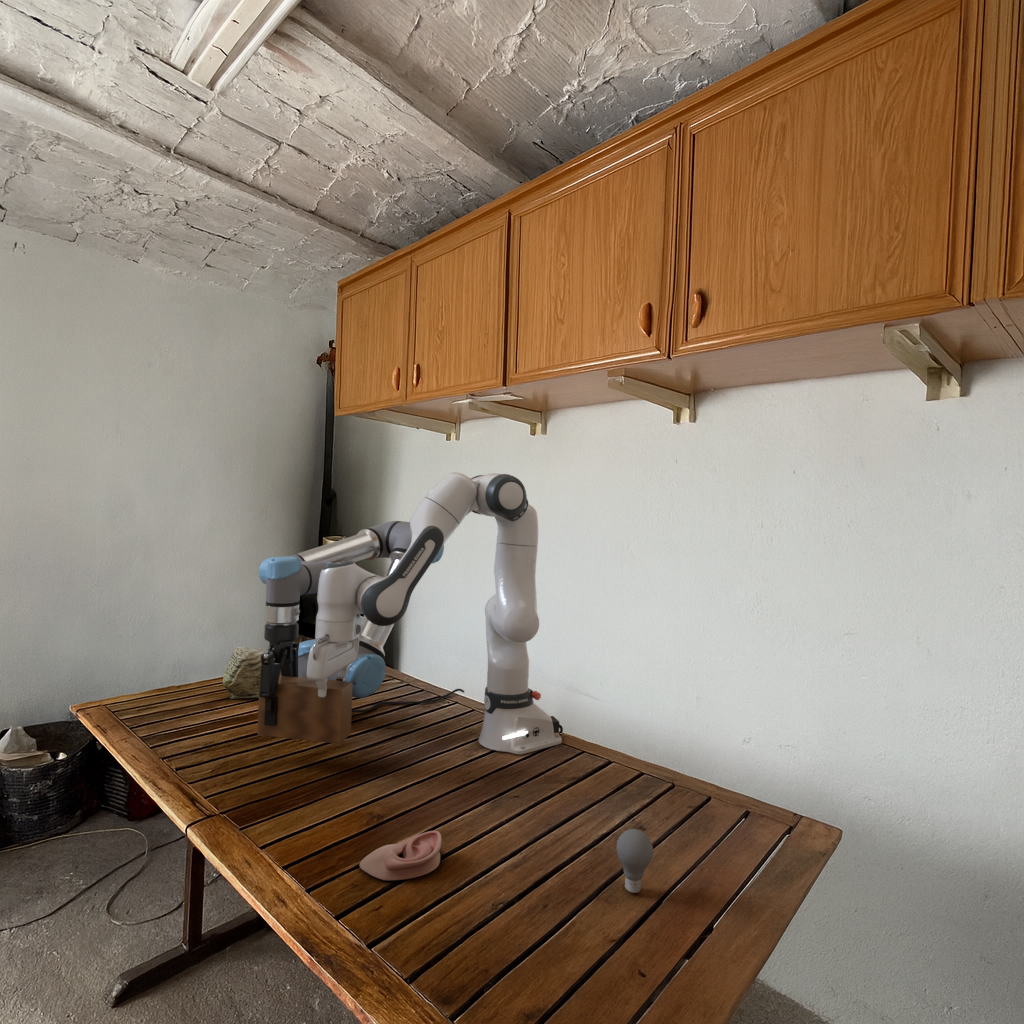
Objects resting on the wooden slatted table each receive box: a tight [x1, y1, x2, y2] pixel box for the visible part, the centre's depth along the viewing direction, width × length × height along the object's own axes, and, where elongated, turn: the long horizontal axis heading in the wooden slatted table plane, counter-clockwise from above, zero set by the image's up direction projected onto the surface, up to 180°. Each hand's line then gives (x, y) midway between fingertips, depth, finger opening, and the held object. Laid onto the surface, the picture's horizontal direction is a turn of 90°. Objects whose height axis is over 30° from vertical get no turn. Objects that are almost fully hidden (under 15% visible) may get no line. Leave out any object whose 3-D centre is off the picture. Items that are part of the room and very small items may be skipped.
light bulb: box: [615, 828, 654, 894], centre depth 106 cm, size 6×6×10 cm
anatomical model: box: [359, 830, 443, 882], centre depth 111 cm, size 13×4×12 cm
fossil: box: [222, 646, 281, 699], centre depth 198 cm, size 9×18×15 cm, turn 132°
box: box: [257, 676, 353, 745], centre depth 148 cm, size 20×6×12 cm, turn 81°
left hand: (278, 719), depth 150 cm, fingers closed on box, 6 cm apart
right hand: (332, 690), depth 147 cm, fingers open, 8 cm apart
